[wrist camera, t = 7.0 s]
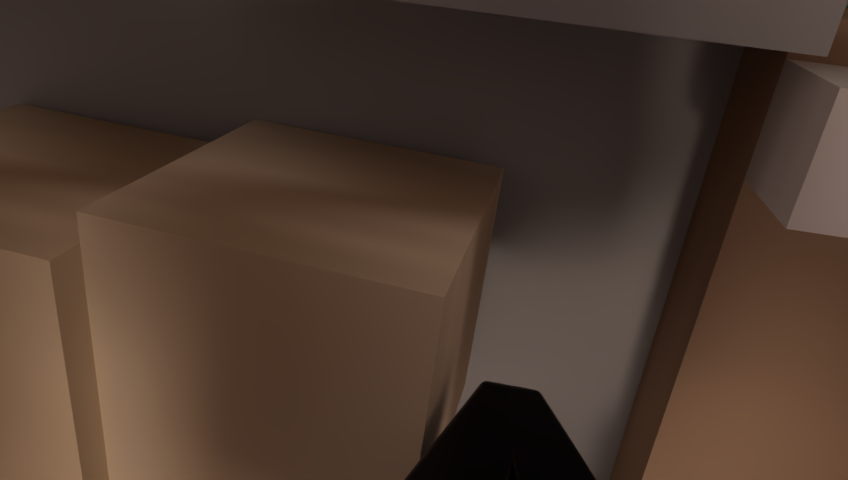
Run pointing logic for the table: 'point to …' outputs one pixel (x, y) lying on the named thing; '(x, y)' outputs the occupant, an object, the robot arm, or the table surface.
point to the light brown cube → (57, 282)
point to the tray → (462, 136)
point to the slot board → (758, 292)
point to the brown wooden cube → (285, 306)
